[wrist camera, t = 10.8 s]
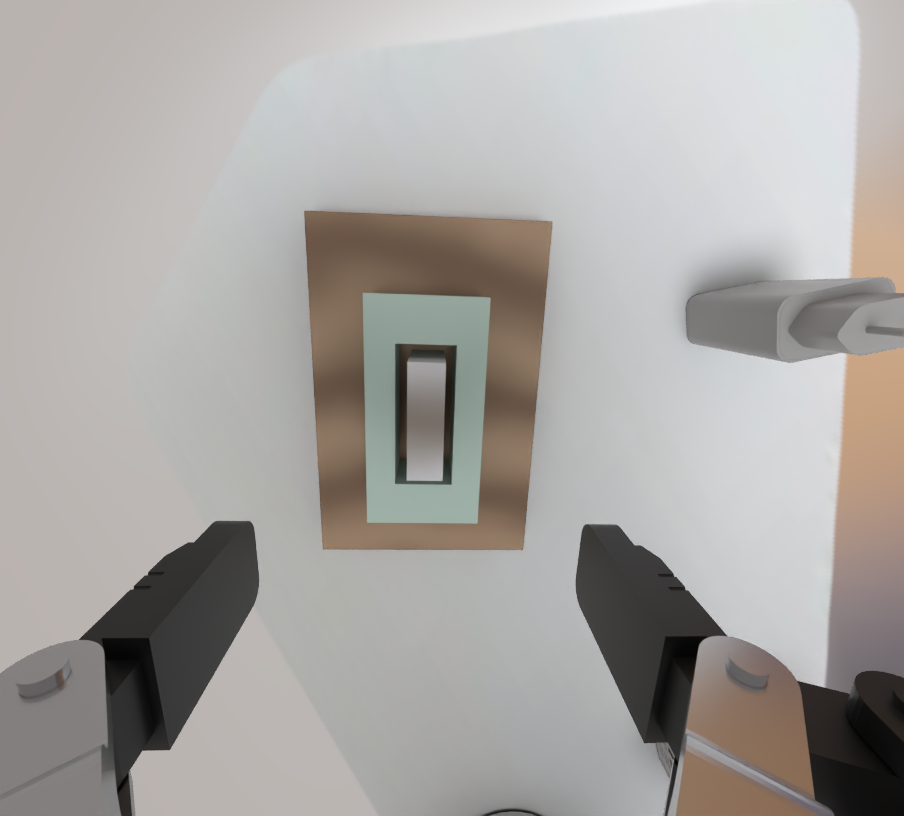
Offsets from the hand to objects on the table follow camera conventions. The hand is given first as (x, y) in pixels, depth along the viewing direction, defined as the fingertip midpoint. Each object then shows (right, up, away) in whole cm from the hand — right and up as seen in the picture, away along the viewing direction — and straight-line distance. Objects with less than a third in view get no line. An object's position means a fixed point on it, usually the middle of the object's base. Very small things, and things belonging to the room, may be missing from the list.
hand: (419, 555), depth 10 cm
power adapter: (+18, +10, +16) cm, 26 cm away
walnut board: (-1, +5, +16) cm, 17 cm away
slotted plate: (-1, +4, +14) cm, 15 cm away
